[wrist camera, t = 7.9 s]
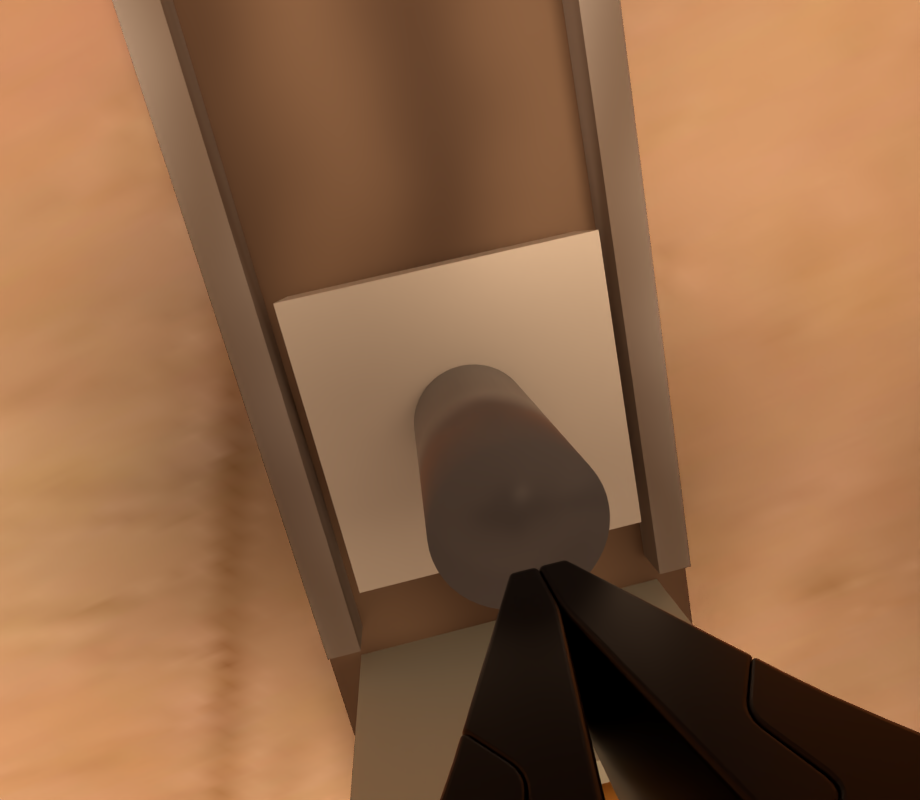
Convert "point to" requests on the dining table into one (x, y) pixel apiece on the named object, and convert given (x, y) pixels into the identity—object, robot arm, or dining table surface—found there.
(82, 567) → the dining table surface
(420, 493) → the carriage
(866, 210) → the dining table surface
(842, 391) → the dining table surface
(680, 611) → the button housing
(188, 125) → the track
